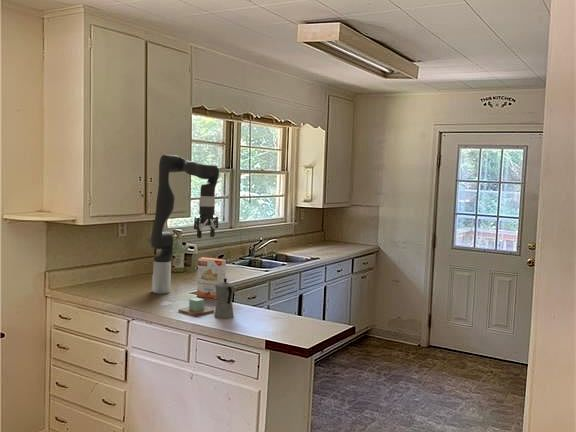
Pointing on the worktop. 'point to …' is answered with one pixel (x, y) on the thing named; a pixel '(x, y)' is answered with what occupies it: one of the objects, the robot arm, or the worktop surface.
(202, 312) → the walnut board
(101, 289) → the worktop surface
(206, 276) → the cracker box
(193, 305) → the sage block
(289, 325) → the worktop surface
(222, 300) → the coffeepot
